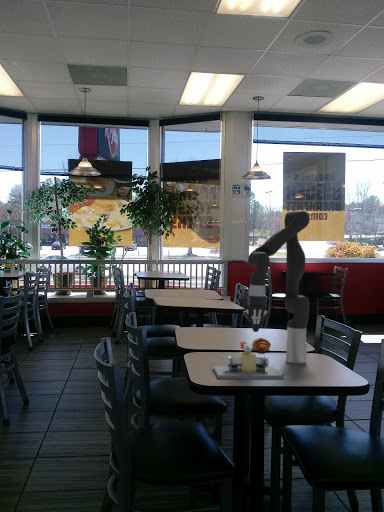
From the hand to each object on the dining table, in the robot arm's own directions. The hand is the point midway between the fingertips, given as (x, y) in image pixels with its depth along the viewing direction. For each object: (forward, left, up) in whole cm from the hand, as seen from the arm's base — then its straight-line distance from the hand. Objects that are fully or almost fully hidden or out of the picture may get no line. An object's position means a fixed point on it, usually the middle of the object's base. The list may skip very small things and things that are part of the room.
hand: (255, 331), depth 214 cm
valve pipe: (+6, +11, -15) cm, 20 cm away
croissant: (-14, -40, -17) cm, 46 cm away
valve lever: (+6, +6, -8) cm, 11 cm away
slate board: (+6, +11, -17) cm, 21 cm away
